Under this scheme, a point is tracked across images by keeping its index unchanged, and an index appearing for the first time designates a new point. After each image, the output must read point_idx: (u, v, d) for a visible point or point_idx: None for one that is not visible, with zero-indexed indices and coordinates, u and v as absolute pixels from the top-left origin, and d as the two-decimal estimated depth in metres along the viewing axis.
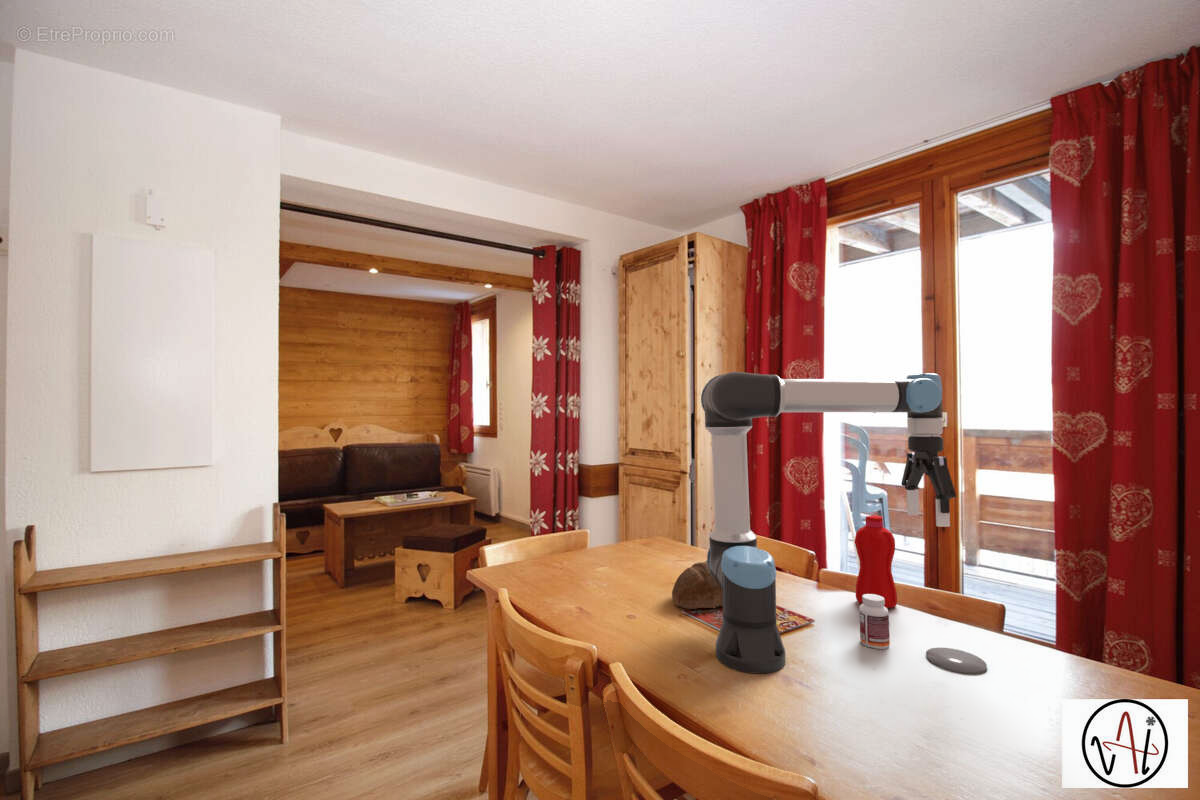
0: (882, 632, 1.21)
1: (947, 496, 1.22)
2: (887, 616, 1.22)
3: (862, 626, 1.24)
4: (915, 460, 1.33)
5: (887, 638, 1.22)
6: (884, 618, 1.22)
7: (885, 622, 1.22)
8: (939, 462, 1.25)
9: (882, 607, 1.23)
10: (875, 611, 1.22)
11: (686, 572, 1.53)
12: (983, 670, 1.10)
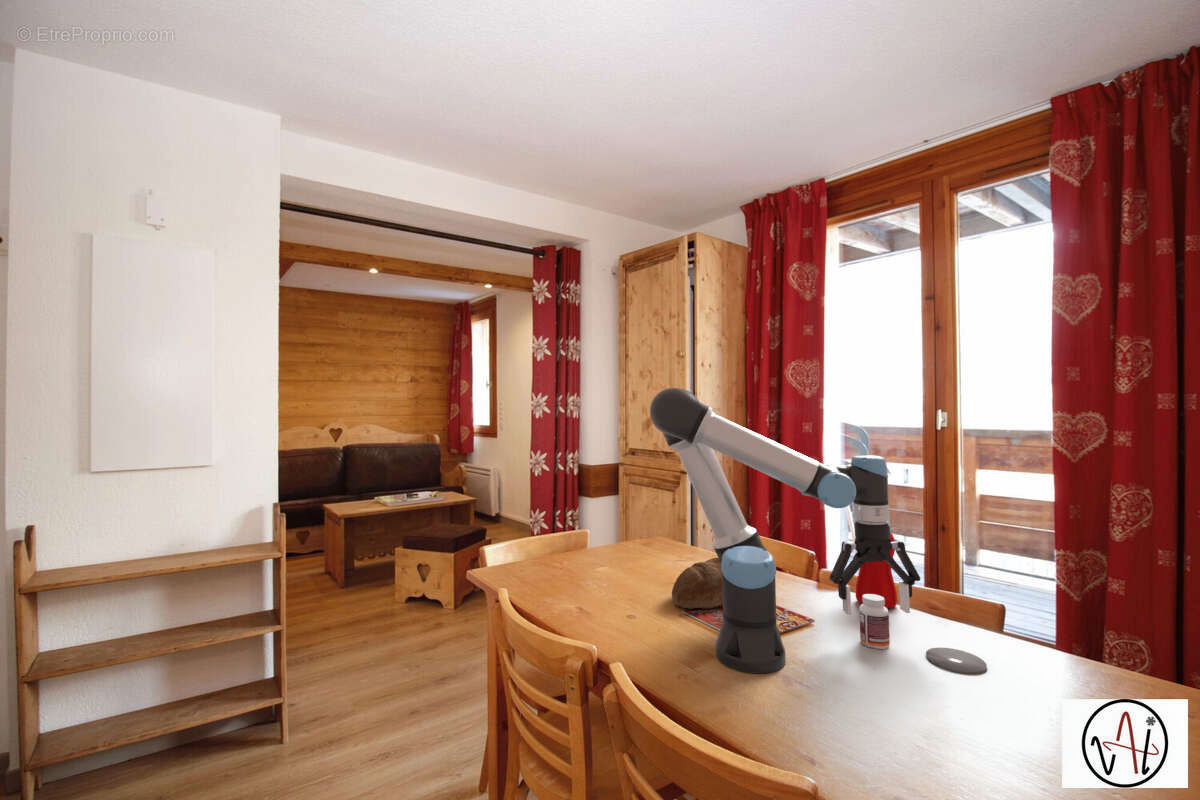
0: (882, 632, 1.21)
1: (830, 579, 1.25)
2: (887, 616, 1.22)
3: (862, 626, 1.24)
4: None
5: (887, 638, 1.22)
6: (884, 618, 1.22)
7: (885, 622, 1.22)
8: (842, 547, 1.25)
9: (882, 607, 1.23)
10: (875, 611, 1.22)
11: (686, 572, 1.53)
12: (983, 670, 1.10)
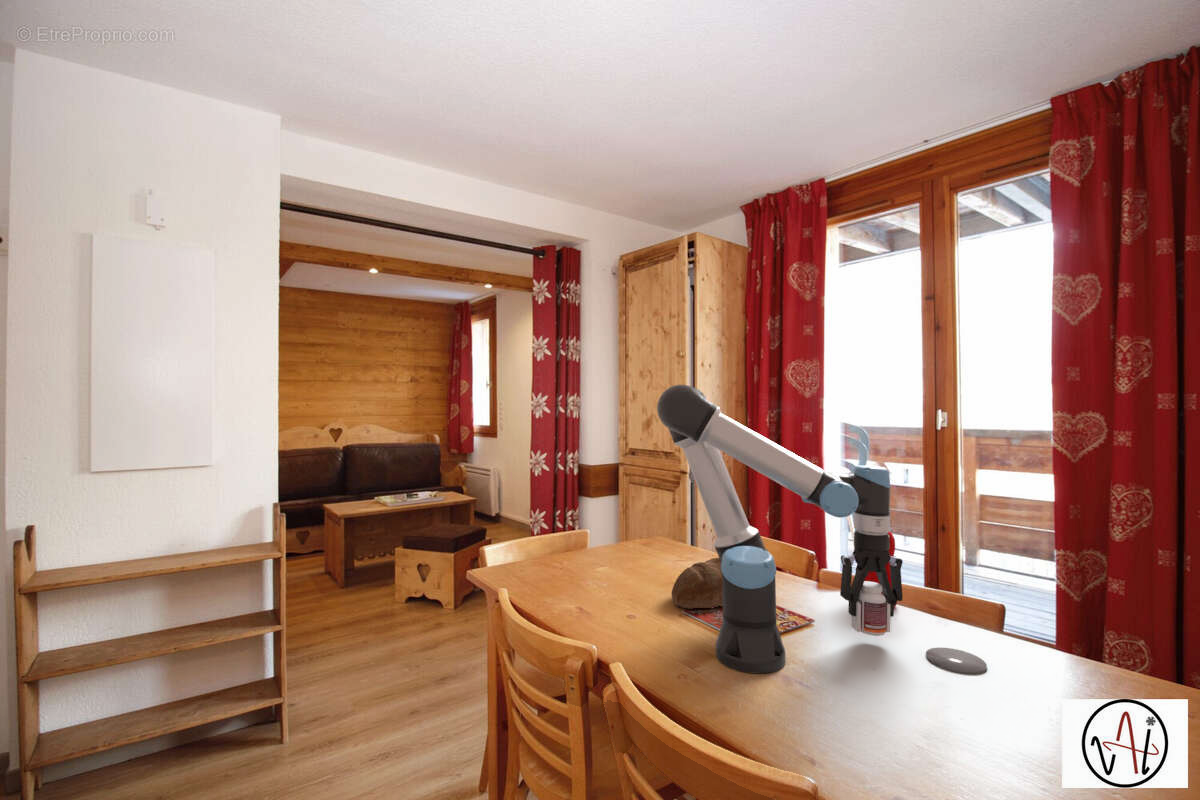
0: (878, 619, 1.22)
1: None
2: (884, 603, 1.22)
3: None
4: None
5: (883, 625, 1.22)
6: (881, 605, 1.22)
7: (881, 609, 1.22)
8: (843, 562, 1.25)
9: (879, 594, 1.23)
10: (872, 598, 1.22)
11: (686, 572, 1.53)
12: (983, 670, 1.10)
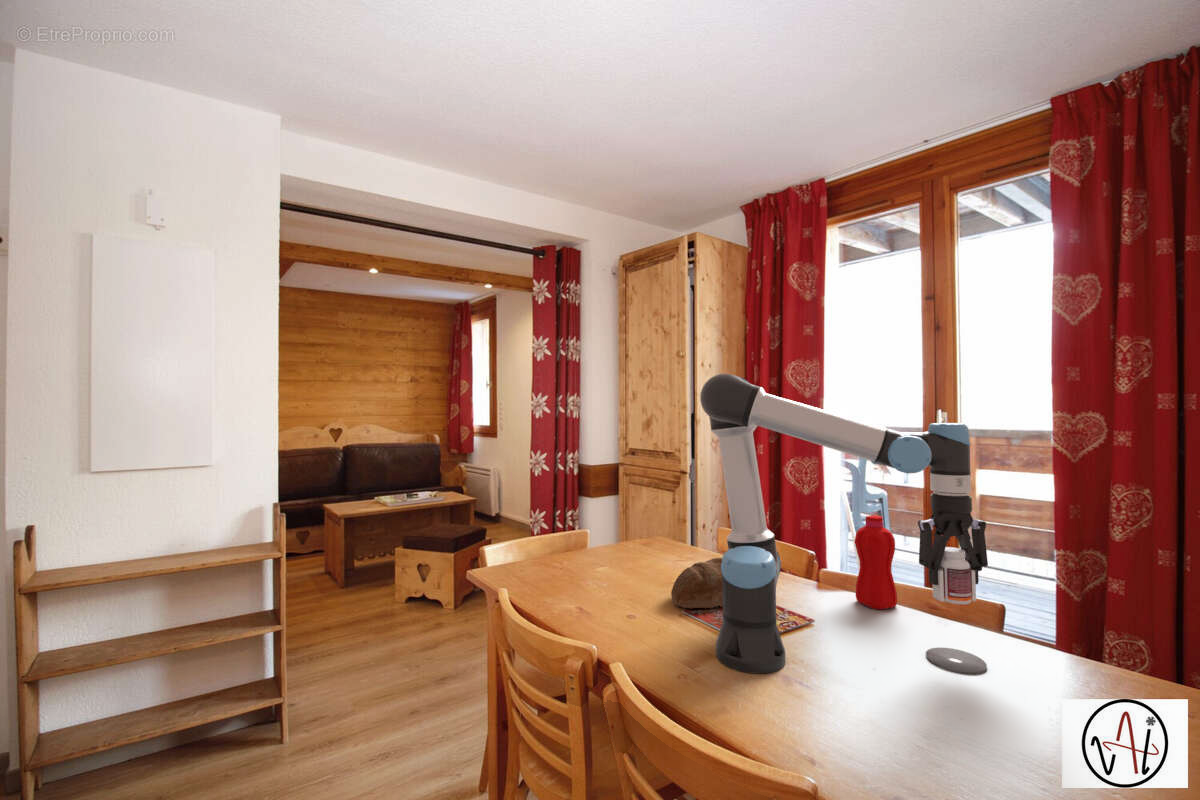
0: (964, 586, 1.13)
1: (920, 563, 1.16)
2: (969, 569, 1.13)
3: None
4: None
5: (969, 593, 1.13)
6: (966, 571, 1.13)
7: (967, 575, 1.13)
8: (920, 527, 1.16)
9: (963, 560, 1.14)
10: (956, 564, 1.13)
11: (685, 572, 1.53)
12: (983, 670, 1.10)
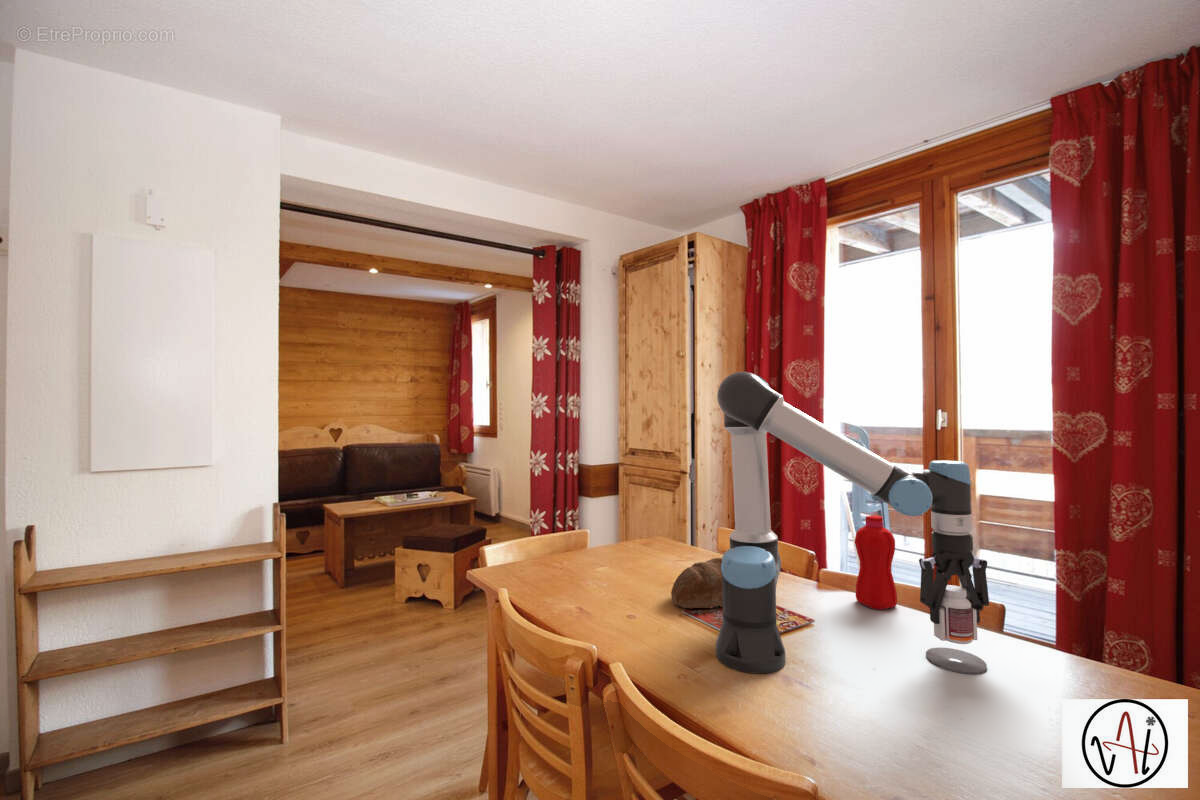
0: (965, 626, 1.12)
1: (922, 602, 1.16)
2: (970, 608, 1.13)
3: None
4: None
5: (970, 632, 1.13)
6: (967, 611, 1.13)
7: (968, 615, 1.13)
8: (922, 566, 1.16)
9: (964, 599, 1.14)
10: (957, 603, 1.13)
11: (685, 572, 1.53)
12: (983, 670, 1.10)
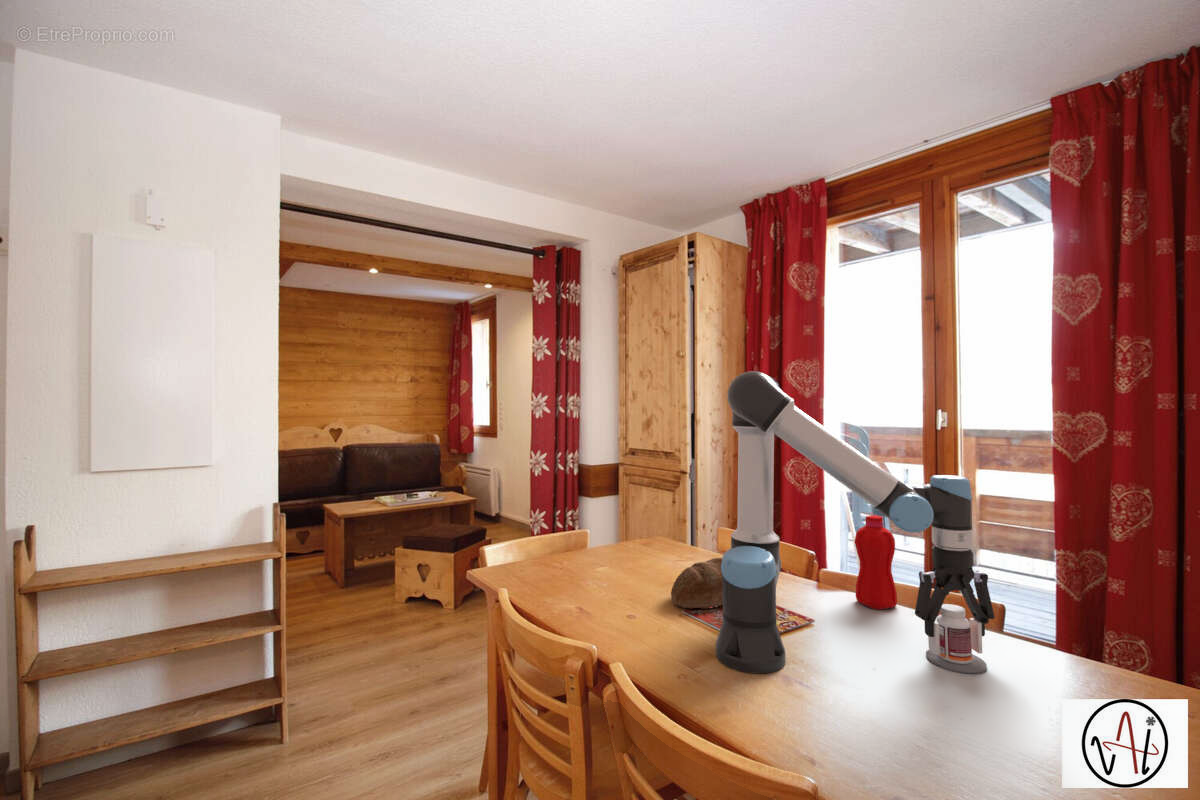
0: (964, 646, 1.12)
1: (916, 615, 1.16)
2: (969, 628, 1.13)
3: (941, 639, 1.15)
4: None
5: (970, 652, 1.13)
6: (966, 630, 1.13)
7: (967, 635, 1.13)
8: (921, 578, 1.16)
9: (963, 618, 1.14)
10: (956, 623, 1.13)
11: (685, 572, 1.53)
12: (983, 670, 1.10)
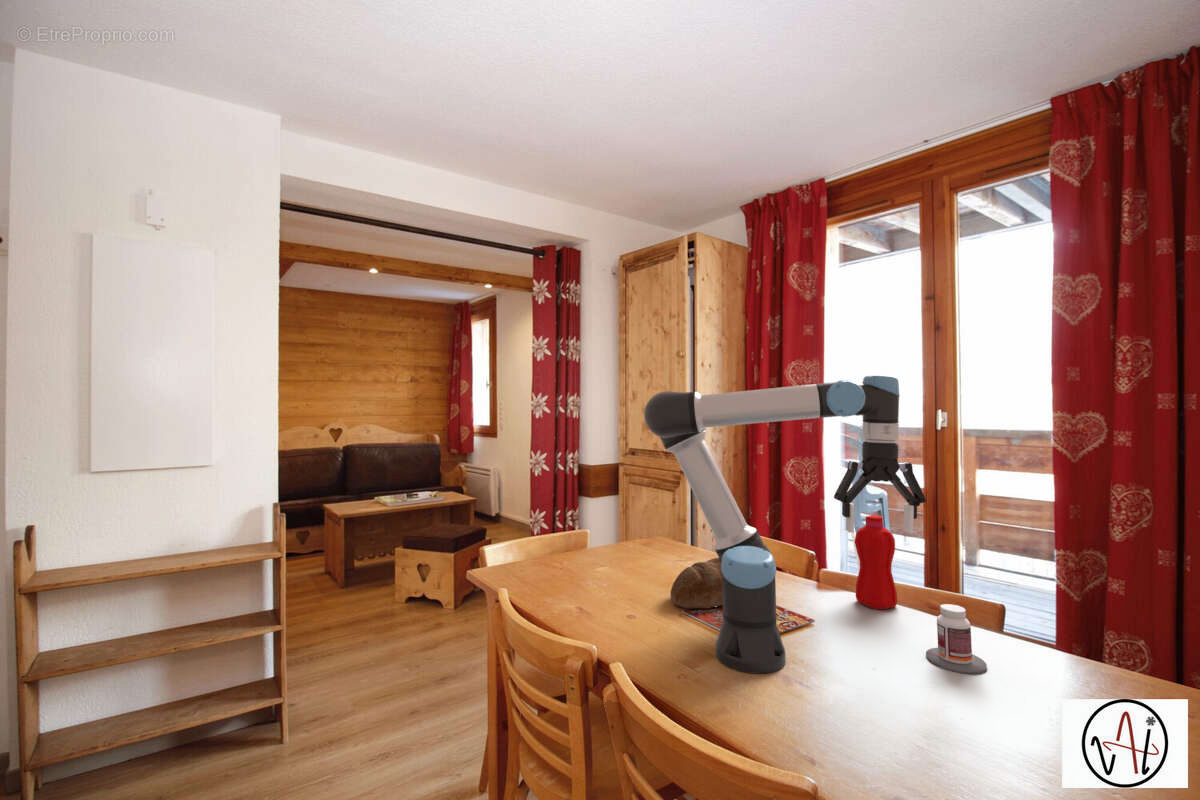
0: (964, 646, 1.12)
1: (835, 498, 1.25)
2: (969, 628, 1.13)
3: (942, 639, 1.15)
4: None
5: (970, 652, 1.13)
6: (967, 631, 1.13)
7: (967, 635, 1.13)
8: (849, 466, 1.25)
9: (964, 619, 1.14)
10: (957, 623, 1.13)
11: (685, 571, 1.54)
12: (983, 670, 1.10)
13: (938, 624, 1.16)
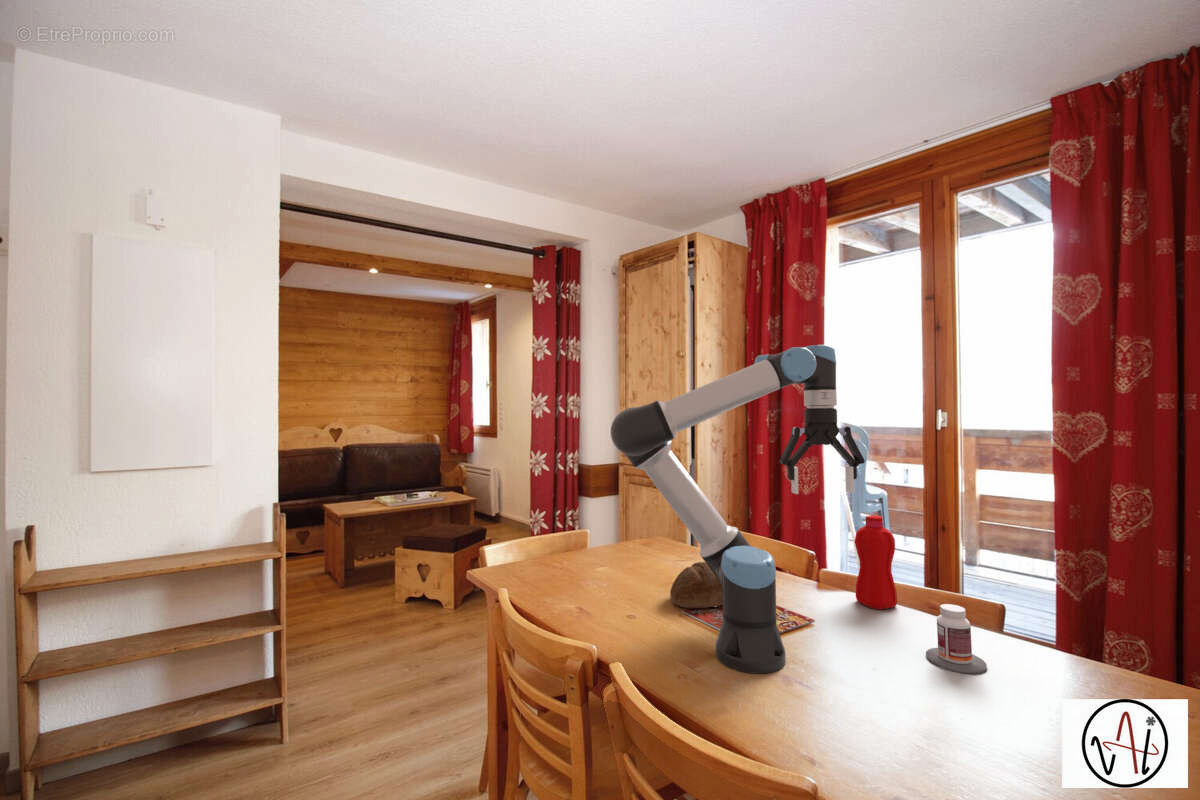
0: (964, 646, 1.12)
1: (780, 462, 1.32)
2: (969, 628, 1.13)
3: (942, 639, 1.15)
4: None
5: (970, 652, 1.13)
6: (967, 631, 1.13)
7: (967, 635, 1.13)
8: (792, 432, 1.32)
9: (963, 619, 1.14)
10: (957, 623, 1.13)
11: (684, 571, 1.54)
12: (983, 670, 1.10)
13: (938, 624, 1.16)
